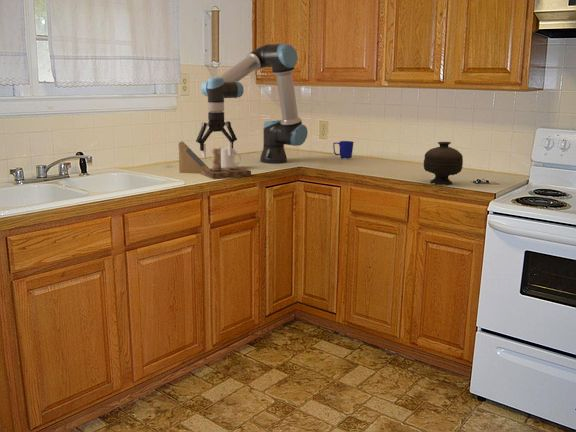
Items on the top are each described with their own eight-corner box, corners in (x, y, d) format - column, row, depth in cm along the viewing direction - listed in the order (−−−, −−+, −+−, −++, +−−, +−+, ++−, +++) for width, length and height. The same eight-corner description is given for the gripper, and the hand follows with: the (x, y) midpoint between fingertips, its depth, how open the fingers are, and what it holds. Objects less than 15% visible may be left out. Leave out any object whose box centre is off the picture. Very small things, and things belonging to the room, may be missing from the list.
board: (238, 171, 290) (238, 166, 289) (250, 175, 278) (251, 170, 278) (201, 174, 279) (201, 169, 279) (213, 178, 268) (213, 173, 267)
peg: (218, 174, 279) (218, 148, 276) (222, 176, 276) (222, 149, 272) (210, 175, 277) (210, 148, 274) (214, 176, 273) (214, 149, 270)
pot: (415, 182, 267) (421, 139, 264) (427, 180, 282) (433, 139, 279) (453, 188, 258) (460, 143, 255) (463, 185, 273) (470, 143, 270)
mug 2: (333, 156, 351) (333, 140, 349) (352, 157, 349) (353, 141, 347) (332, 158, 343) (332, 141, 341) (352, 159, 342) (353, 142, 339)
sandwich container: (210, 174, 281) (209, 143, 278) (179, 173, 282) (178, 142, 278) (212, 171, 290) (212, 141, 286) (182, 170, 290) (182, 140, 287)
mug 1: (238, 170, 293) (238, 149, 290) (215, 169, 295) (215, 148, 292) (242, 168, 301) (242, 147, 298) (220, 166, 303) (220, 146, 300)
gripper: (236, 110, 278) (237, 153, 284) (188, 111, 266) (189, 157, 271) (243, 111, 272) (243, 155, 278) (194, 113, 260) (195, 159, 265)
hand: (217, 156), depth 274 cm, fingers open, 13 cm apart
